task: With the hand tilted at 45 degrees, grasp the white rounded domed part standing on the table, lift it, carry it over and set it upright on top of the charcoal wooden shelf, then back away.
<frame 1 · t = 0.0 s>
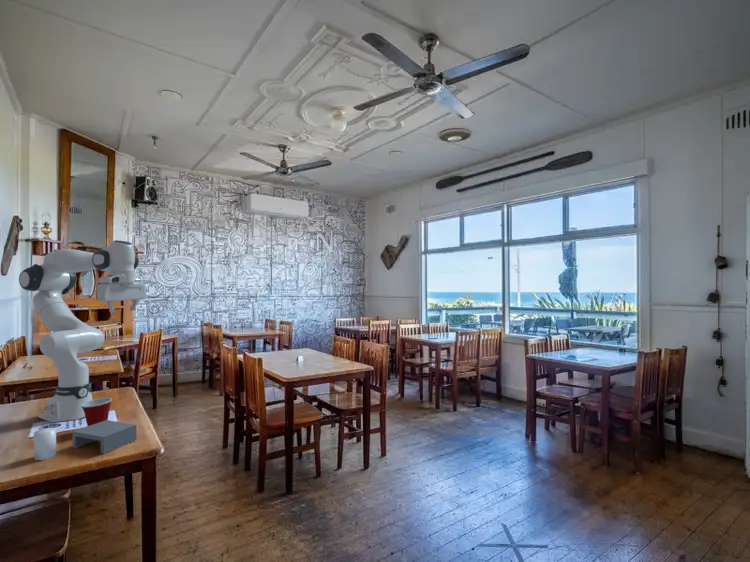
hand: (123, 311, 176), 48 cm above the table, tool pointing down, fingers open, 8 cm apart
white rounded domed part: (45, 456, 143), on the table
shelf: (105, 444, 154), on the table
plastic cup: (96, 430, 169), on the table
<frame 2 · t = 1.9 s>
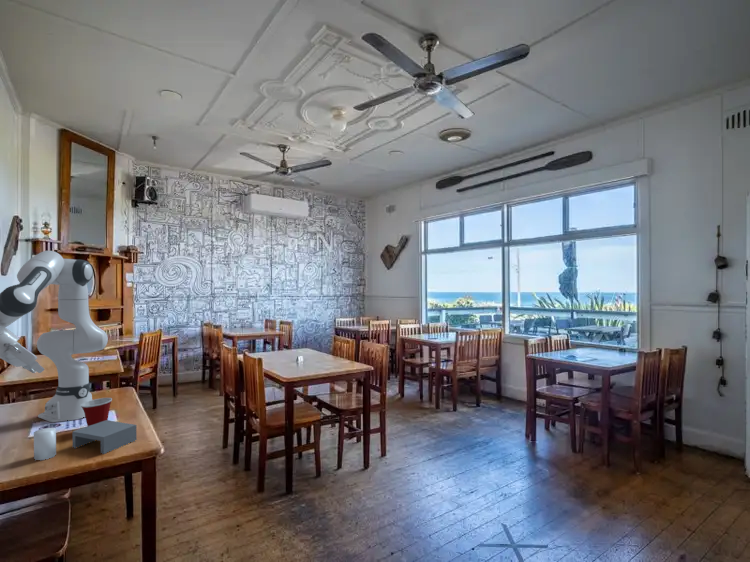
hand: (39, 371, 143), 30 cm above the table, tool tilted 45°, fingers open, 8 cm apart
nothing on the table moved.
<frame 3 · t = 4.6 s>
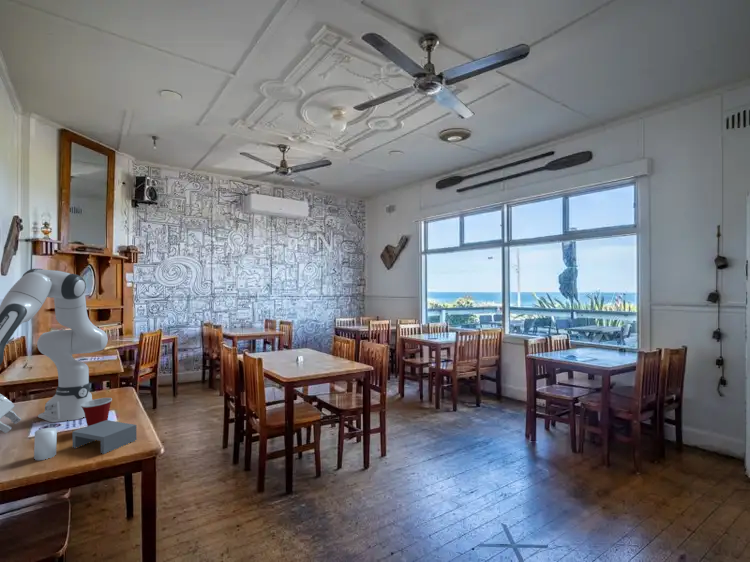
hand: (14, 426, 139), 12 cm above the table, tool tilted 45°, fingers open, 8 cm apart
nothing on the table moved.
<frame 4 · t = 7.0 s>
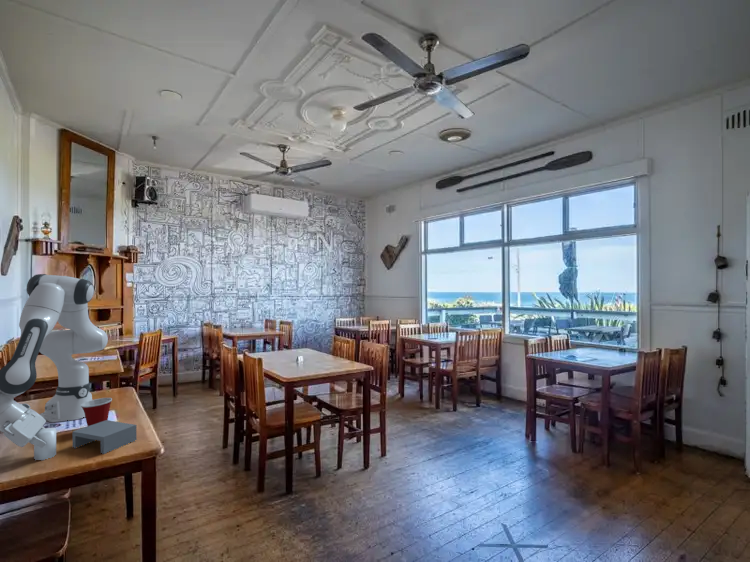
hand: (47, 441, 144), 5 cm above the table, tool tilted 45°, fingers closed on white rounded domed part, 6 cm apart
white rounded domed part: (45, 456, 143), on the table, touching gripper
everything else where it was.
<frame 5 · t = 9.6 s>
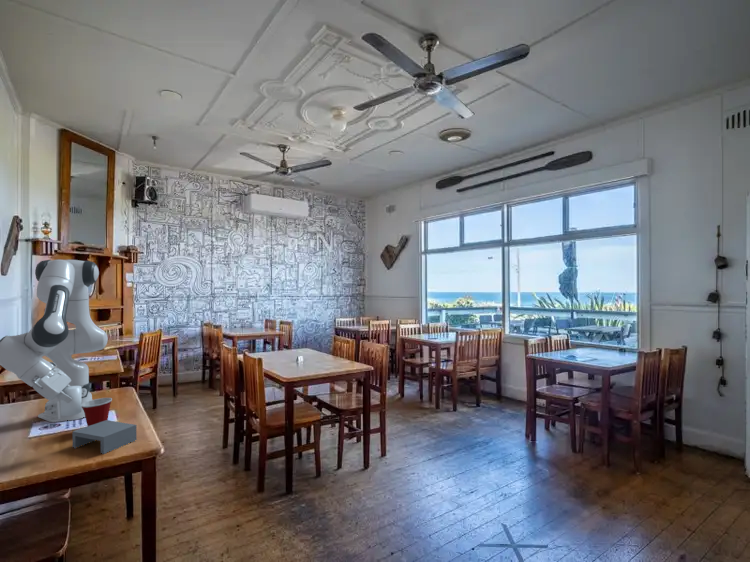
hand: (73, 398, 148), 19 cm above the table, tool tilted 45°, fingers closed on white rounded domed part, 6 cm apart
white rounded domed part: (71, 412, 148), point 14 cm above the table, touching gripper
everything else where it was.
when the fingers open (13 cm above the table, at t = 12.3 s): white rounded domed part drops 1 cm, resting on shelf.
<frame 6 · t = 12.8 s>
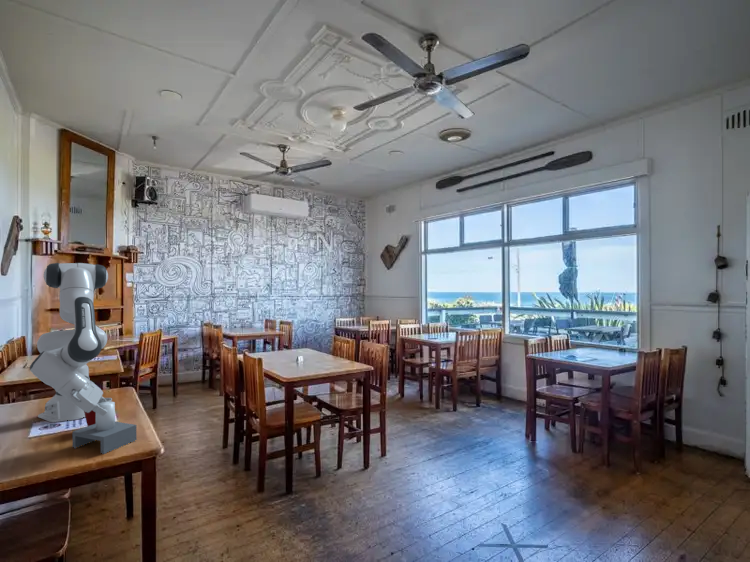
hand: (107, 410, 154), 13 cm above the table, tool tilted 45°, fingers open, 8 cm apart
white rounded domed part: (105, 428, 154), point 6 cm above the table, touching shelf
everything else where it was.
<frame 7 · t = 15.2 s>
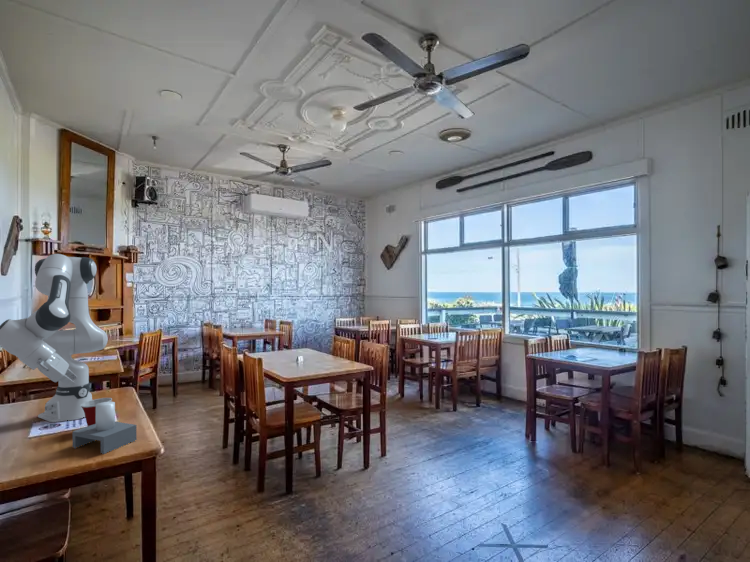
hand: (74, 381, 152), 24 cm above the table, tool tilted 45°, fingers open, 8 cm apart
nothing on the table moved.
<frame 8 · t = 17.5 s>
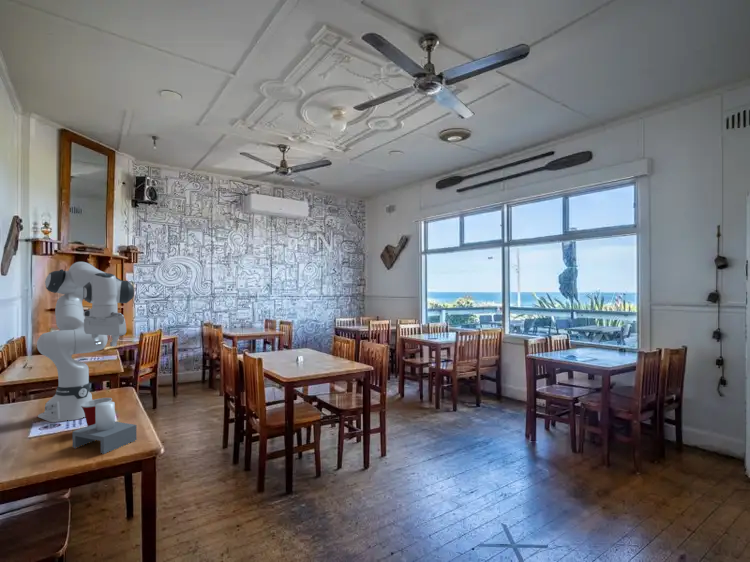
hand: (105, 345, 171), 34 cm above the table, tool pointing down, fingers open, 8 cm apart
nothing on the table moved.
at the end: white rounded domed part inside the target area on the shelf (0.1 cm from its centre), point 6.0 cm above the shelf's base; white rounded domed part tilted 0°; the gripper is holding nothing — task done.
